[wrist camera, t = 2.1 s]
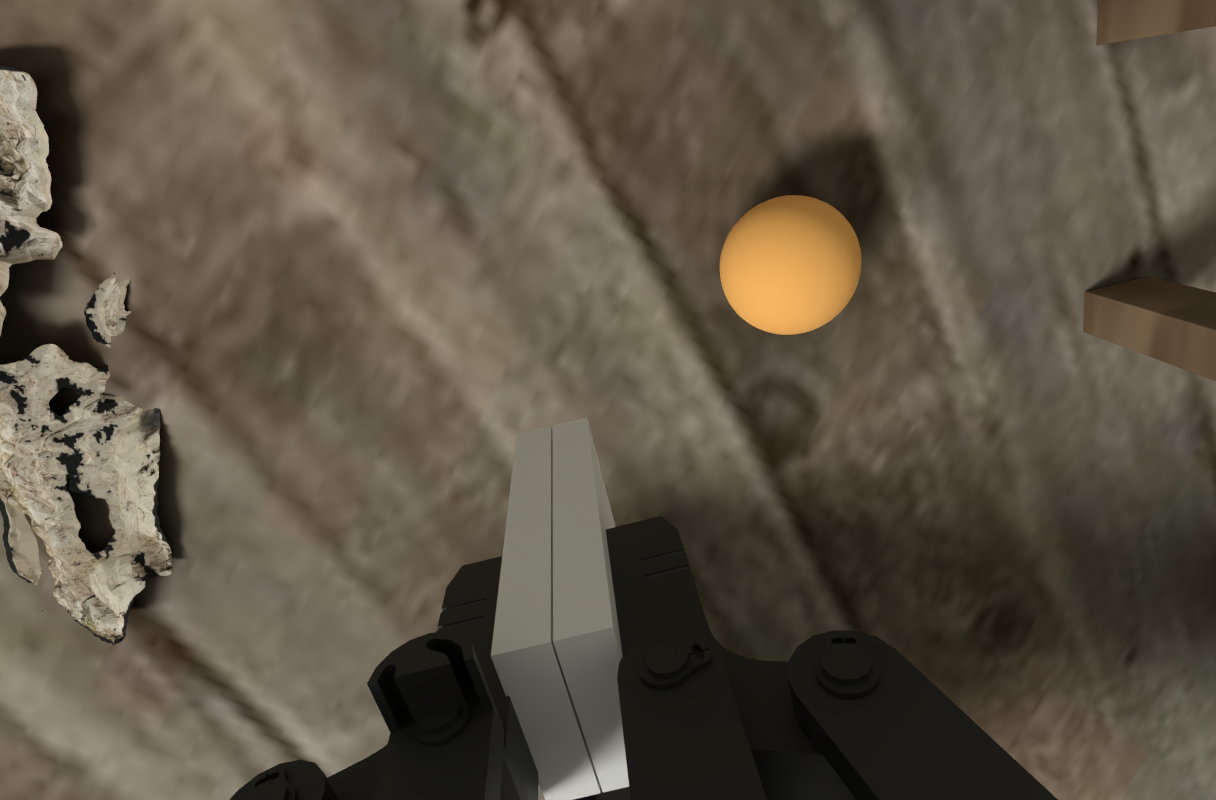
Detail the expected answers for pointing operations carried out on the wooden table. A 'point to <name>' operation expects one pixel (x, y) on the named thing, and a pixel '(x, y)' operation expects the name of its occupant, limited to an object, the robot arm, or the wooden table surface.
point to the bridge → (1149, 307)
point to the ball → (790, 264)
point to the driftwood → (69, 416)
